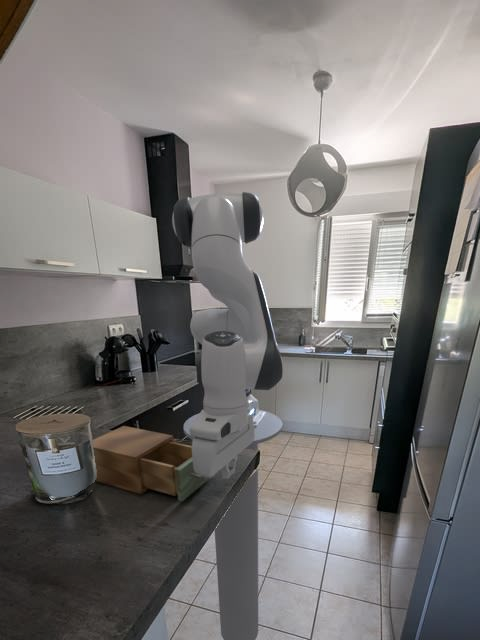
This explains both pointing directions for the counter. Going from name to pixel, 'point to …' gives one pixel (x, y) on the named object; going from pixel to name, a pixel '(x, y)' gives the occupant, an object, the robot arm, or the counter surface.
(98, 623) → the counter surface
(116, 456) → the cabinet
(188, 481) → the drawer
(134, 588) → the counter surface
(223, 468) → the robot arm
